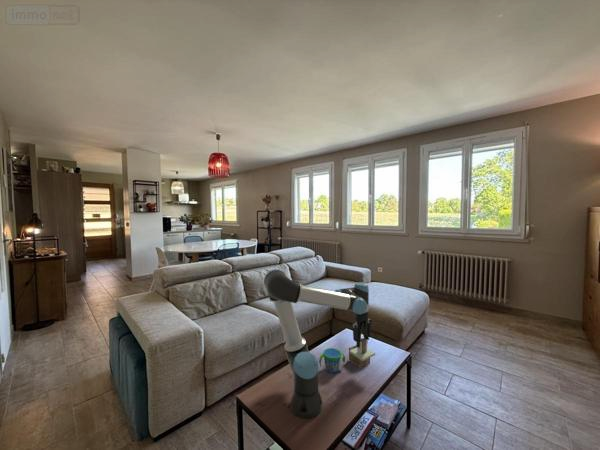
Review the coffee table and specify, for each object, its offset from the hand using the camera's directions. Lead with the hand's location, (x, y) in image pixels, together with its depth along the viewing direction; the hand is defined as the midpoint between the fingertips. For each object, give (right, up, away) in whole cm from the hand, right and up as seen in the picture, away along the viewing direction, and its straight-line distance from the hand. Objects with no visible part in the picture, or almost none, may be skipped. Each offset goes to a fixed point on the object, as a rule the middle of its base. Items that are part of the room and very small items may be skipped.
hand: (362, 351), depth 142 cm
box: (+2, -13, +13) cm, 19 cm away
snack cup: (-16, -14, +6) cm, 22 cm away
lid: (0, -2, 0) cm, 2 cm away
